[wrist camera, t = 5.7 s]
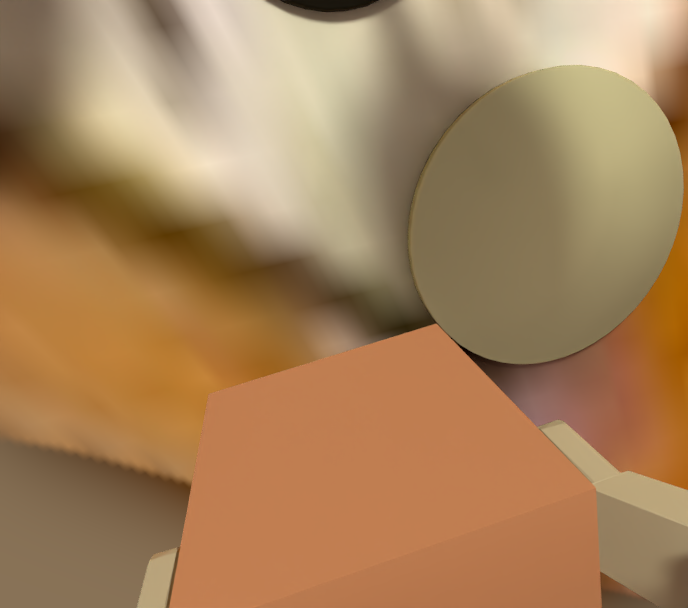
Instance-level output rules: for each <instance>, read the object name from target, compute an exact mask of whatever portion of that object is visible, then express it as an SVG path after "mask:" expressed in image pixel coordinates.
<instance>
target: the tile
mask: <svg viewBox="0 0 688 608" xmlns="http://www.w3.org/2000/svg"><path fill="white" fill-rule="evenodd" d="M683 190H684V188H683V168H682V162H681V156H680V151H679V148H678V144H677V141H676V138H675V135H674V133H673V130H672V128H671V126H670V124H669V122H668V120H667V118H666V116H665V115H664V113H663V112H662V110H661V109H660V107H659V106H658V105H657V103H656V102H655V101H654V100H653V99H652V98H651V97H650V96H649V95H648V94H647V93H646V92H645V91H644V90H643V89H641V88H640V87H639V86H638V85H636V84H635V83H634V82H632V81H631V80H629V79H627V78H625V77H623V76H621V75H619V74H617V73H614V72H611V71H608V70H605V69H602V68H598V67H591V66H583V65H569V66H557V67H552V68H547V69H542V70H538V71H534V72H530V73H527V74H524V75H522V76H519V77H516V78H513V79H511V80H509V81H507V82H505V83H503V84H501V85H499V86H497V87H495V88H493V89H492V90H490V91H489V92H487V93H486V94H485V95H483V96H482V97H480V98H479V99H478V100H476V101H475V102H474V103H473V104H472V105H470V106H469V107H468V108H467V109H466V110H465V111H464V112H463V113H462V114H461V115H459V117H458V118H457V119H456V120H455V121H454V122H453V124H452V125H451V126H450V127H449V128H448V129H447V131H446V132H445V133H444V134H443V136H442V137H441V139H440V140H439V142H438V143H437V145H436V146H435V148H434V149H433V151H432V153H431V155H430V157H429V159H428V161H427V163H426V165H425V166H424V168H423V170H422V173H421V176H420V178H419V181H418V184H417V187H416V189H415V193H414V197H413V201H412V205H411V209H410V216H409V224H408V255H409V262H410V269H411V273H412V276H413V280H414V284H415V287H416V289H417V291H418V294H419V296H420V298H421V301H422V303H423V304H424V306H425V307H426V309H427V311H428V312H429V314H430V315H431V317H432V318H433V319H434V320H435V321H436V323H437V324H438V325H439V326H440V327H441V328H442V329H443V330H444V331H445V332H446V333H447V334H448V335H449V336H450V337H452V338H453V339H454V340H455V341H456V342H457V343H459V344H460V345H461V346H463V347H465V348H466V349H468V350H470V351H471V352H473V353H475V354H477V355H480V356H482V357H484V358H487V359H490V360H494V361H498V362H502V363H511V364H535V363H541V362H548V361H552V360H555V359H559V358H562V357H566V356H568V355H570V354H573V353H575V352H578V351H580V350H582V349H584V348H586V347H588V346H589V345H591V344H593V343H595V342H596V341H598V340H599V339H601V338H602V337H604V336H605V335H607V334H608V333H609V332H611V331H612V330H613V329H614V328H615V327H617V326H618V325H619V324H620V323H621V322H622V321H623V320H624V319H625V318H626V317H627V316H628V315H629V314H630V313H631V312H632V311H633V310H634V309H635V308H636V307H637V306H638V304H639V303H640V302H641V301H642V299H643V298H644V297H645V296H646V294H647V293H648V292H649V290H650V289H651V287H652V286H653V284H654V282H655V281H656V279H657V278H658V276H659V274H660V272H661V270H662V268H663V266H664V265H665V263H666V260H667V258H668V256H669V253H670V251H671V248H672V246H673V243H674V240H675V237H676V233H677V230H678V227H679V221H680V216H681V211H682V202H683Z"/></svg>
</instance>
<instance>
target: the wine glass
mask: <svg viewBox="0 0 688 608" xmlns="http://www.w3.org/2000/svg"><path fill="white" fill-rule="evenodd" d="M281 1H283V2H284V3H288V4H291V5H294V6H297V7H301V8H304V9H309V10H315V11H322V12H335V11H348V10H352V9H356V8H360V7H364V6H368V5H370V4H372V3H374V2H376V1H378V0H281Z"/></svg>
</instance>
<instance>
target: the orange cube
mask: <svg viewBox="0 0 688 608" xmlns="http://www.w3.org/2000/svg"><path fill="white" fill-rule="evenodd" d="M169 608H602V602H601V581H600V560H599V539H598V518H597V498H596V487H595V486H594V485H593V484H592V483H591V482H590V481H589V480H588V479H587V478H586V477H585V476H584V475H583V474H582V473H581V472H580V471H579V470H578V469H577V468H576V467H575V466H574V465H573V464H572V463H571V462H570V461H569V460H568V459H567V458H566V456H565V455H564V454H563V453H562V452H561V451H560V450H559V449H558V448H557V447H556V446H555V445H554V444H553V443H552V442H551V441H550V440H549V439H548V438H547V437H546V436H545V435H544V434H543V433H542V432H541V431H540V430H539V429H538V428H537V427H536V426H535V425H534V424H533V422H532V421H531V420H530V419H529V418H528V417H527V416H526V415H525V414H524V413H523V412H522V411H521V410H520V409H519V408H518V407H517V406H516V405H515V404H514V403H513V402H512V401H511V400H510V399H509V398H508V397H507V396H506V395H505V394H504V393H503V392H502V391H501V390H500V388H499V387H498V386H497V385H496V384H495V383H494V382H493V381H492V380H491V379H490V378H489V377H488V376H487V375H486V374H485V373H484V372H483V371H482V370H481V369H480V368H479V367H478V366H477V365H476V364H475V363H474V362H473V361H472V360H471V359H470V358H469V357H468V356H467V355H466V353H465V352H464V351H463V350H462V349H461V348H460V347H459V346H458V345H457V344H456V343H455V342H454V341H453V340H452V339H451V338H450V337H449V336H448V335H447V334H446V333H445V332H444V331H443V330H442V329H441V328H440V327H439V326H438V325H437V324H433V325H430V326H427V327H424V328H420V329H417V330H414V331H411V332H407V333H404V334H401V335H398V336H395V337H391V338H388V339H385V340H382V341H378V342H375V343H372V344H369V345H366V346H362V347H359V348H356V349H353V350H349V351H346V352H343V353H340V354H336V355H333V356H330V357H327V358H324V359H320V360H317V361H314V362H311V363H307V364H304V365H301V366H298V367H294V368H291V369H288V370H285V371H282V372H278V373H275V374H272V375H269V376H265V377H262V378H259V379H256V380H252V381H249V382H246V383H243V384H240V385H236V386H233V387H230V388H227V389H223V390H220V391H217V392H214V393H210V394H209V395H208V401H207V406H206V412H205V417H204V422H203V428H202V433H201V439H200V444H199V449H198V455H197V460H196V466H195V471H194V476H193V482H192V487H191V493H190V498H189V503H188V509H187V515H186V519H185V525H184V530H183V536H182V541H181V546H180V552H179V557H178V563H177V568H176V573H175V579H174V584H173V590H172V595H171V600H170V606H169Z"/></svg>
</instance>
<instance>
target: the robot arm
mask: <svg viewBox="0 0 688 608" xmlns="http://www.w3.org/2000/svg"><path fill="white" fill-rule="evenodd" d="M537 428H538V429H539V430H540V431H541V432H542V433H543V434H544V435H545V436H546V437H547V438H548V439H549V440H550V441H551V442H552V443H553V444H554V445H555V446H556V447H557V448H558V449H559V450H560V451H561V452H562V453H563V454H564V455H565V456H566V458H567V459H568V460H569V461H570V462H571V463H572V464H573V465H574V466H575V467H576V468H577V469H578V470H579V471H580V472H581V473H582V474H583V475H584V476H585V477H586V478H587V479H588V480H589V481H590V482H591V483H592V484H593V485H594V486H595V487H596V498H597V518H598V539H599V560H600V571H601V572H602V573H604V574H605V575H607V576H609V577H610V578H612V579H614V580H615V581H617V582H619V583H620V584H622V585H624V586H625V587H627V588H629V589H630V590H632V591H634V592H635V593H637V594H638V595H640V596H642V597H643V598H645V599H647V600H648V601H650V602H652V603H653V604H655V605H657V606H658V607H660V608H688V490H685V489H682V488H679V487H676V486H673V485H670V484H667V483H664V482H661V481H658V480H655V479H652V478H649V477H646V476H643V475H640V474H637V473H634V472H631V471H626V472H623V473H620V472H619V471H618V470H617V469H616V468H615V467H614V466H613V465H611V464H610V463H609V462H608V461H607V460H606V459H605V458H604V457H603V456H602V455H600V454H599V453H598V452H597V451H596V450H595V449H594V448H593V447H592V446H590V445H589V444H588V443H587V442H586V441H585V440H584V439H583V438H582V437H581V436H579V435H578V434H577V433H576V432H575V431H574V430H573V429H572V428H571V427H569V426H568V425H567V424H566V423H565V422H564V421H561V420H556V421H553V422H550V423H547V424H544V425H541V426H539V427H537ZM179 552H180V547H177V548H174V549H171V550H167V551H164V552H160V553H157V554H154V555H153V557H152V558H151V559H150V561H149V563H148V566H147V570H146V574H145V578H144V582H143V585H142V589H141V593H140V597H139V601H138V605H137V608H169V606H170V600H171V595H172V590H173V584H174V579H175V573H176V568H177V563H178V557H179Z"/></svg>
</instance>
